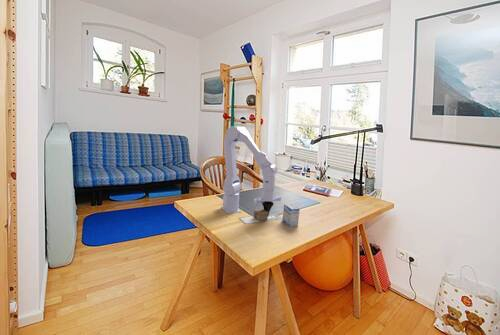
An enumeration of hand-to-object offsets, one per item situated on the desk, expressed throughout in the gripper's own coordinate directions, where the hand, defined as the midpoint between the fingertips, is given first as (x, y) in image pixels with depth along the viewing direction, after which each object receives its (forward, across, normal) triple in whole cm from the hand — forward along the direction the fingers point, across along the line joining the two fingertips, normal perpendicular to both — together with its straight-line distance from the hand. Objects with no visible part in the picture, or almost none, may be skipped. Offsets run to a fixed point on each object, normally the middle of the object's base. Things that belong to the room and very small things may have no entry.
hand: (266, 215), depth 136 cm
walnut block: (+1, -3, 0) cm, 3 cm away
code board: (+1, -3, 0) cm, 4 cm away
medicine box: (+2, +8, -10) cm, 12 cm away
